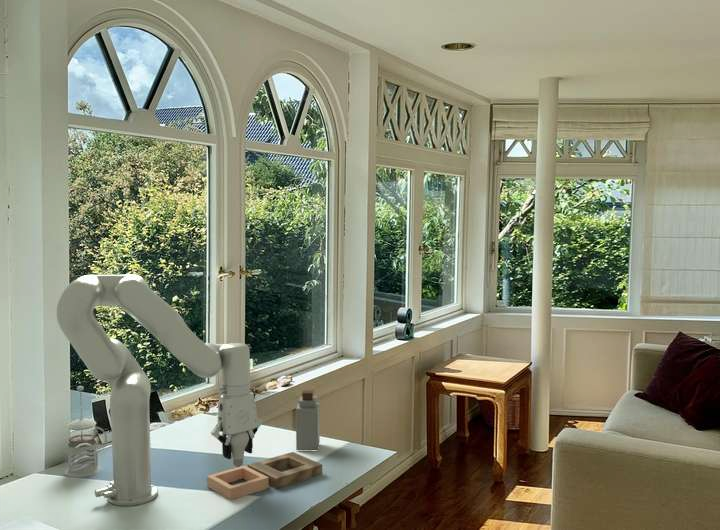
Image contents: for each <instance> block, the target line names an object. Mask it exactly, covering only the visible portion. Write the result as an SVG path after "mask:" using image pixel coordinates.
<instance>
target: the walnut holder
mask: <svg viewBox="0 0 720 530" xmlns="http://www.w3.org/2000/svg"><path fill="white" fill-rule="evenodd" d="M246 466H247V467H249V468H251V469H253V470H255V471H257V472H259V473H261V474H263V475H265V476H267V477H269V488H272V489H275V490H278V489H282V488H284V487H288V486H291V485H294V484H297V483H301V482H303V481H306V480H310V479H313V478H315V477H316V478H317V477H319V475H320V476H322V475H323V464H322V463H320V462H319V461H315V460H313V459H311V458H309V457H306V456H304V455H301V454H299V453H296V452H294V451H290V452H287V453H284V454H281V455H277V456H273V457H269V458H266V459H262V460H259V461H255V462H252V463H249V464H247V465H246ZM285 467H287V468H289V467H290V469H288V470H284V471H280V470H279V469H281V468H284V469H286V468H285ZM291 468H292V469H291ZM281 470H282V469H281Z"/></svg>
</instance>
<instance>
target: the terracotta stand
mask: <svg viewBox="0 0 720 530" xmlns="http://www.w3.org/2000/svg"><path fill="white" fill-rule="evenodd" d="M242 478H243V480H245V481H244V482H240V483H237V484H233V485H231V484H229V483H232V482H235V481H239V479H240V480H242ZM206 487H207V488H208V489H210V490H212V491H214V492H215V493H217V494H219V495H221V496H222V497H224V498H226V499H227V500H230V501H231V500H236V499H238V498H243V497H245V496H249V495H250V494H255V493H257V492H261V491H264V490H267V489H269V488H270V486H269V477H267V476H265V475H263V474H261V473H259V472H257V471H255V470H253V469H251V468H249V467H248V466H247V465H245V464H244V465H241V466H240V467H234V468H230V469H227V470H223V471H221V472H220V471H219V472H216V473H213V474H210V475H209V474H208V475H206Z"/></svg>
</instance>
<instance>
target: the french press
mask: <svg viewBox="0 0 720 530" xmlns="http://www.w3.org/2000/svg"><path fill="white" fill-rule="evenodd" d="M76 391H78V392H79V396H80V398H79V399H80V401H79V403H80V405H82V391H84V386H82V385H79V386H77V388H76ZM82 415H83V414H82V410H80V418H77V419H74V420H72V421H70V422H68V423H67V424H66V429H68V430H71V431H81V433H80V434H76V435H73V436H72V437H69V438H68V442H69V443H68V444H67V458H68V459H67V460H68V461H67V463H68V465H67V466H68V468H67V470H65V472H64V474H65V476H67V477H70V478H85V477H89V476H93V475H95V474H98V473H99V472H101V470H100V469H102V468H101V467H100V466H99V464H98V461H99V460H98V458H99V456H98V454H99V453H100V452H102V451H103V450H104V449H105V447H106V446H107V442H108V435H107V433H106V432H105V430H104V429H103V428H102V427H99V426H98V425H97V422H96V421H95V420H93V419H90V418H82V417H83V416H82ZM93 428H94V432H95V433H97V432H98V430H100V431H102V432H103V433H104V443H103V445H102V446H101V447H100V448H99V449H97V441H96V440H95V439H96V436H95V435H94V434H90V433H89V434H83V431H85V430H89V429H93ZM81 444H82V445H81ZM89 444H90V445H89Z"/></svg>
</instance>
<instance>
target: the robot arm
mask: <svg viewBox="0 0 720 530" xmlns="http://www.w3.org/2000/svg"><path fill="white" fill-rule="evenodd" d="M57 302H58V303H57V305H56V319H57V322H58V326H59V328H60V329H61V331H62V333H63V335H64V336H65V337H66V339H67V340H68V342H69V343H70V345H71V347H73V350H74V351H75V352H76V353H77V355H78V356H79V358H80V359H81V361H82V362H83V363H84V365H85V366H86V368H87V370H88V371H89V373H90V374H91V375H92V376H93V377H94V378H95V379H96V380H99V381H102V382H106V383H107V384H108V386H109V387H110V389H111V392H110V397H109V411H110V412H109V413H110V422H111V441H112V442H111V445H112V446H111V447H112V449H111V450H112V477H113V478H112V480H110V481H109V485H106V487H103V488H102V487H101V488H98V489H95V490H94V496H95V498H99V497H103V498H104V499H107V501H108V502H109V503H110V504H113V505H116V506H122V507H124V506H125V507H126V506H137V505H142V504H145V503H147V502H151V501H152V500H153V499H154V500H155V498H156V497H157V496H158V494H159V493H158V492H159V491H158V488H157V486H155V485H153V484H152V452H151V451H152V449H151V426H150V425H151V423H150V422H151V421H150V396H151V390H152V389H151V387H152V385H151V382H150V379H149V377H148V376H147V374H146V372H145V371H144V370H143V368H142V367H141V365H140V364H139V362H138V361H137V359H136V358H135V357H134V355H133V354H132V353H131V351H130V349H128V347H127V346H126V345H125V344H124V343H123V342H122V341H120V340H118V339H115V338H111V337H110V336H109V335H108V334H107V332H106V331H105V329H104V327H103V326H102V324H101V323H99V321H98V320H97V319H96V317H95V315H94V310H95V308H96V307H120V309H122V310H123V311H124V312H125V313H127V314H128V315H129V316H130V317H131V318H133V319H134V320H135V321H136V322H137V323H138V324H140V326H141V327H143V328H144V329H145V330H147V332H149V333H150V334H151V335H152V336H153V337H154V338H156V339H157V341H158V342H159V343H160V344H161V345H162V346H164V348H166V349H167V350H168V352H170V354H172V355H173V356H174V357H175V358H176V359H177V360H178V361H179V362H181V364H182V365H184V366H185V367H186V368H187V369H188V370H189V371H191V372H192V373H193V374H195V375H196V376H198V377H200V378H203V379H210V378H212V377H215V376H217V374H218V373H219V372H220V371H221V388H218V389H217V392H218V394H219V396H220V397H219V402H218V407H217V424H216V425H215V426H214V428H213V429H212V431H211V432H210V434H211V435H212V436H213V437H214V438H215V439H217V440H218V441H219V442H220V443H221V445H222V446H221V447H222V450H221V451H222V456H223V457H224V458H225V459H227V460H231V459H233V458H232V452H231V444H229V442H230V439H231V435H234V434H238V433H242V432H246V431H247V432H248V435H249V441H248V444H247V446H246V448H245V451H244V452H246V453H248V454H252V453H253V448H254V447H253V446H254V445H253V439H255V435H256V433H257V432H258V429H259V428H260V427H261V425H262V424H263V421H262V420H261V419H260V418H259V417H258V411H257V404H256V399H255V394H254V392H253V391H251V361H250V360H251V357H250V355H251V353H250V348H249V345H247V344H246V343H243V342H232V343H231V342H230V343H227V344H226V343H225V344H224V343H211V342H204V341H203V340H201V339H200V338H199V337H198V336H197V335H196V334H195V333H194V332H193V331H192V330H191V329H190V328H189V326H188V325H187V323H186V322H185V321H184V319H183V316H181V315H180V313H179V312H178V311H177V310H176V309H174V307H172V306H171V305H170V304H169V303H167V302H166V301H165V300H164V299H163V298H162V297H161V296H159V295H158V294H157V293H156V292H155V291H154V290H153V289H151V287H150V285H149V283H148V282H147V280H146V279H145V278H143V277H142V276H140V275H137V274H87V275H81V276H80V277H78V278H77V279H74V280H73V281H71V282H70V283H69V284H68V285H67V286H66V288H64V291H63V292H62V293H61V295H60V297H59V300H58V301H57ZM220 394H221V395H220ZM220 433H221V434H220Z"/></svg>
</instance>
